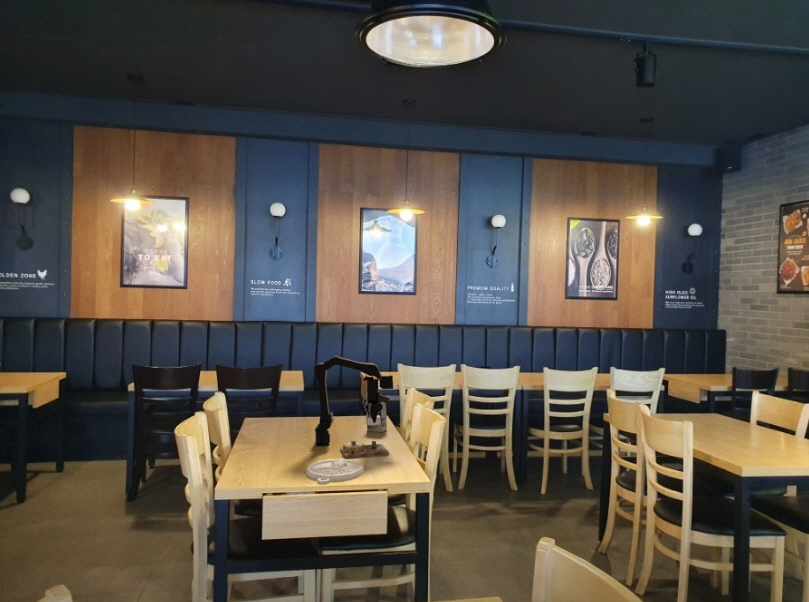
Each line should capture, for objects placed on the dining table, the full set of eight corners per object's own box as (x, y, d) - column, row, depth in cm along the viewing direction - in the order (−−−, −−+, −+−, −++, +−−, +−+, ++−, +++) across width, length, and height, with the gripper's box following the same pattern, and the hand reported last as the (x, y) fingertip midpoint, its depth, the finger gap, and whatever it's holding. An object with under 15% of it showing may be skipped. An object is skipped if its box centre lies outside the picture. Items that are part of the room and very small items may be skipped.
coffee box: (387, 429, 307) (387, 400, 307) (381, 432, 302) (381, 402, 301) (372, 428, 311) (372, 398, 311) (366, 430, 305) (366, 400, 305)
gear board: (345, 458, 254) (345, 446, 254) (340, 450, 268) (340, 438, 268) (388, 454, 260) (388, 442, 260) (381, 446, 273) (381, 435, 273)
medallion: (370, 465, 245) (370, 460, 244) (350, 486, 218) (350, 480, 218) (319, 462, 250) (319, 457, 250) (293, 482, 224) (293, 476, 223)
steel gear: (367, 425, 275) (366, 418, 275) (363, 422, 282) (363, 415, 282) (381, 424, 277) (381, 417, 276) (378, 421, 284) (378, 414, 284)
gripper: (393, 391, 272) (393, 424, 272) (384, 385, 290) (384, 416, 290) (370, 392, 269) (370, 425, 269) (362, 386, 287) (362, 417, 287)
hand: (372, 421), depth 279 cm, fingers closed on steel gear, 7 cm apart
